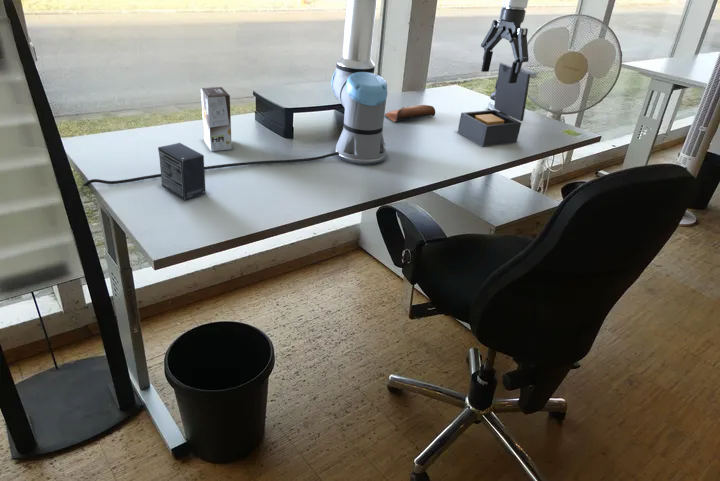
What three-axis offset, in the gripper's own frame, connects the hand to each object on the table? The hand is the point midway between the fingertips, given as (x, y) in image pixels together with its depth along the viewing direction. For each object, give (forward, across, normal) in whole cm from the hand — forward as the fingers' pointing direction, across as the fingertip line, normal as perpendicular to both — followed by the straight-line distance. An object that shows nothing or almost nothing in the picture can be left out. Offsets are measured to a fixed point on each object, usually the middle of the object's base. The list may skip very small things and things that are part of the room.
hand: (498, 77), depth 180 cm
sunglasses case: (+21, +25, +15) cm, 36 cm away
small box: (+22, -10, +104) cm, 107 cm away
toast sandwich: (+20, 0, -1) cm, 20 cm away
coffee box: (+22, +17, +88) cm, 93 cm away
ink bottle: (+21, +22, -25) cm, 39 cm away
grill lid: (+5, 0, -7) cm, 9 cm away
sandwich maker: (+21, 0, -1) cm, 21 cm away
